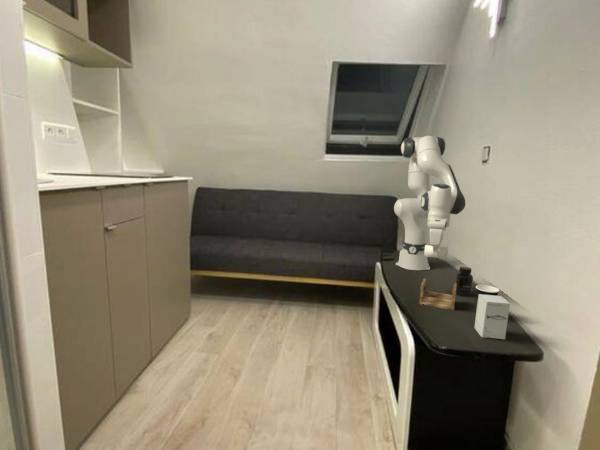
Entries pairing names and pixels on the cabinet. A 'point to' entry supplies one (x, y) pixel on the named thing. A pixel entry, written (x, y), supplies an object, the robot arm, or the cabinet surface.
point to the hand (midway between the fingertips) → (435, 253)
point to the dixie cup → (485, 291)
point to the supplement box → (492, 316)
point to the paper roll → (441, 252)
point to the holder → (437, 297)
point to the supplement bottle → (464, 281)
